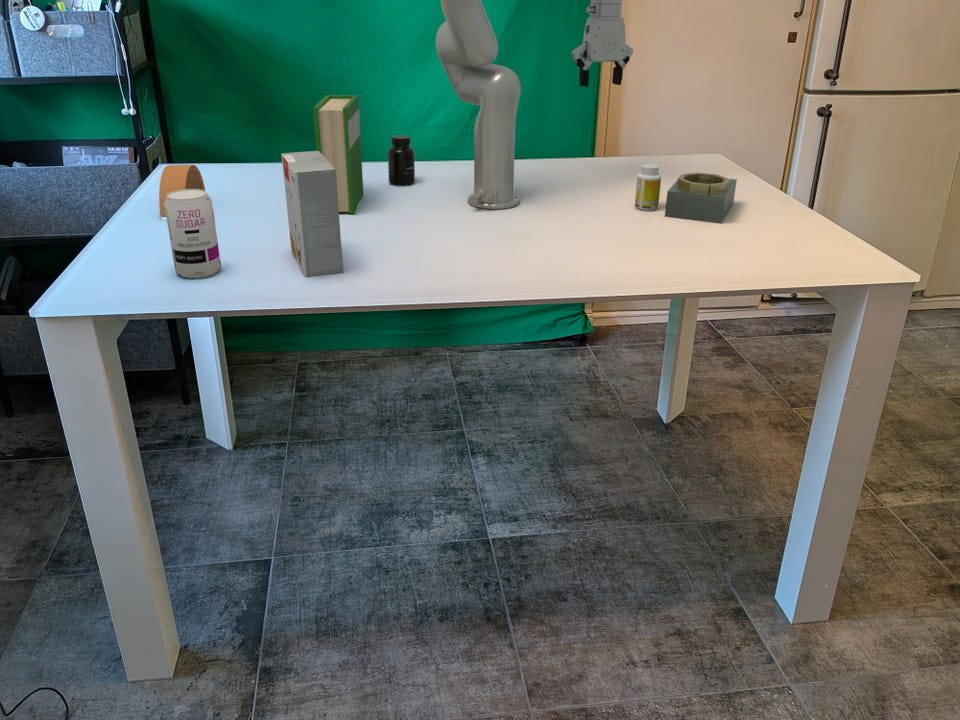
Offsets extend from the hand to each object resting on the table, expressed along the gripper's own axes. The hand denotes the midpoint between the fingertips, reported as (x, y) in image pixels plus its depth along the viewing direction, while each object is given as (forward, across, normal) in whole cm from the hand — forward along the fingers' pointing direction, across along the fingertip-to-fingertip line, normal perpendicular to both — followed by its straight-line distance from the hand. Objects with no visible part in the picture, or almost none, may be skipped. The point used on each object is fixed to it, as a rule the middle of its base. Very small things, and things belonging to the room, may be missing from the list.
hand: (600, 85), depth 206 cm
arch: (+25, -102, +18) cm, 106 cm away
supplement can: (+25, -105, -28) cm, 111 cm away
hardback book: (+25, -67, +6) cm, 71 cm away
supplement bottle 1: (+25, -47, +20) cm, 57 cm away
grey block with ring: (+25, +11, -31) cm, 41 cm away
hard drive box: (+25, -83, -31) cm, 92 cm away
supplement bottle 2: (+25, -1, -26) cm, 36 cm away
